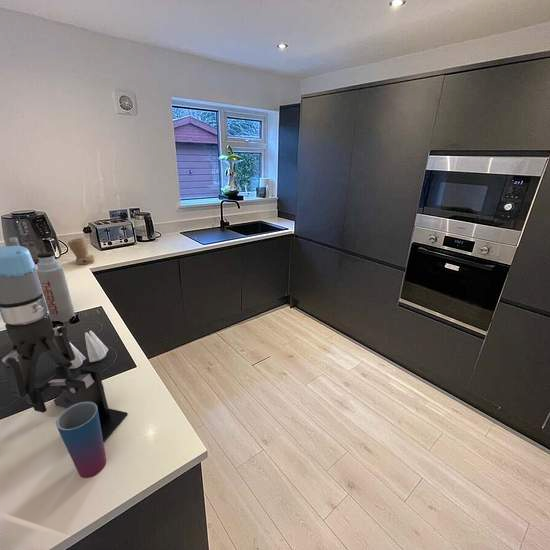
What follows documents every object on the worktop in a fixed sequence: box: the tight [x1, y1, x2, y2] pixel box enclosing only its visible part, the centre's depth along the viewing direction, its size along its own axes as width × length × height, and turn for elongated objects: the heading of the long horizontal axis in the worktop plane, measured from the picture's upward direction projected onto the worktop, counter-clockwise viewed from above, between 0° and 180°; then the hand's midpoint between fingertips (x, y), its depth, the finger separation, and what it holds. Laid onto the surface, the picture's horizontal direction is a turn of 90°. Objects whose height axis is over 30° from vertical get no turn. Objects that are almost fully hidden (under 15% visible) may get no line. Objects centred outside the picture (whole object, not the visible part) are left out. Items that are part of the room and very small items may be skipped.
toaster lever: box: [37, 373, 94, 393], centre depth 67 cm, size 13×5×2 cm, turn 77°
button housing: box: [53, 383, 105, 409], centre depth 78 cm, size 8×8×4 cm
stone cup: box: [67, 237, 95, 265], centre depth 179 cm, size 15×12×15 cm
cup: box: [55, 402, 107, 479], centre depth 59 cm, size 7×7×15 cm
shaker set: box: [69, 330, 109, 369], centre depth 91 cm, size 12×4×11 cm, turn 119°
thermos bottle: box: [36, 251, 76, 323], centre depth 112 cm, size 8×8×28 cm
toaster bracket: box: [65, 366, 129, 444], centre depth 68 cm, size 11×9×16 cm
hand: (54, 399), depth 71 cm, fingers open, 6 cm apart
